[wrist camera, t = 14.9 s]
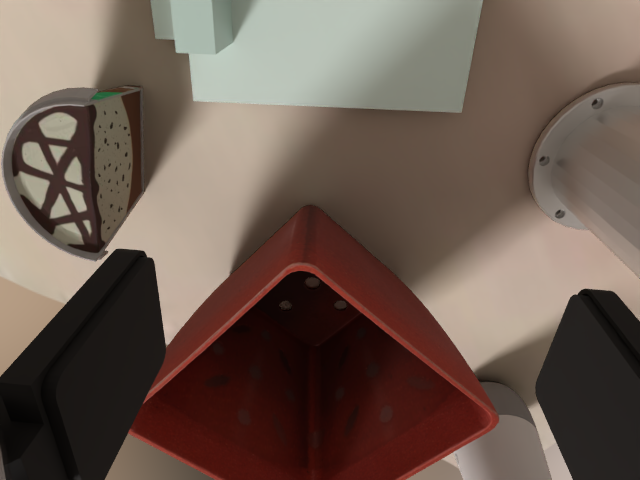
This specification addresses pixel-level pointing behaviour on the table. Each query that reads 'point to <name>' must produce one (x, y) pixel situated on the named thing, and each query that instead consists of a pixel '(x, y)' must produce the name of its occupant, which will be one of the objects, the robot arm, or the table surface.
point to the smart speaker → (505, 443)
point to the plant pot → (313, 371)
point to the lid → (325, 51)
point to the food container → (77, 166)
